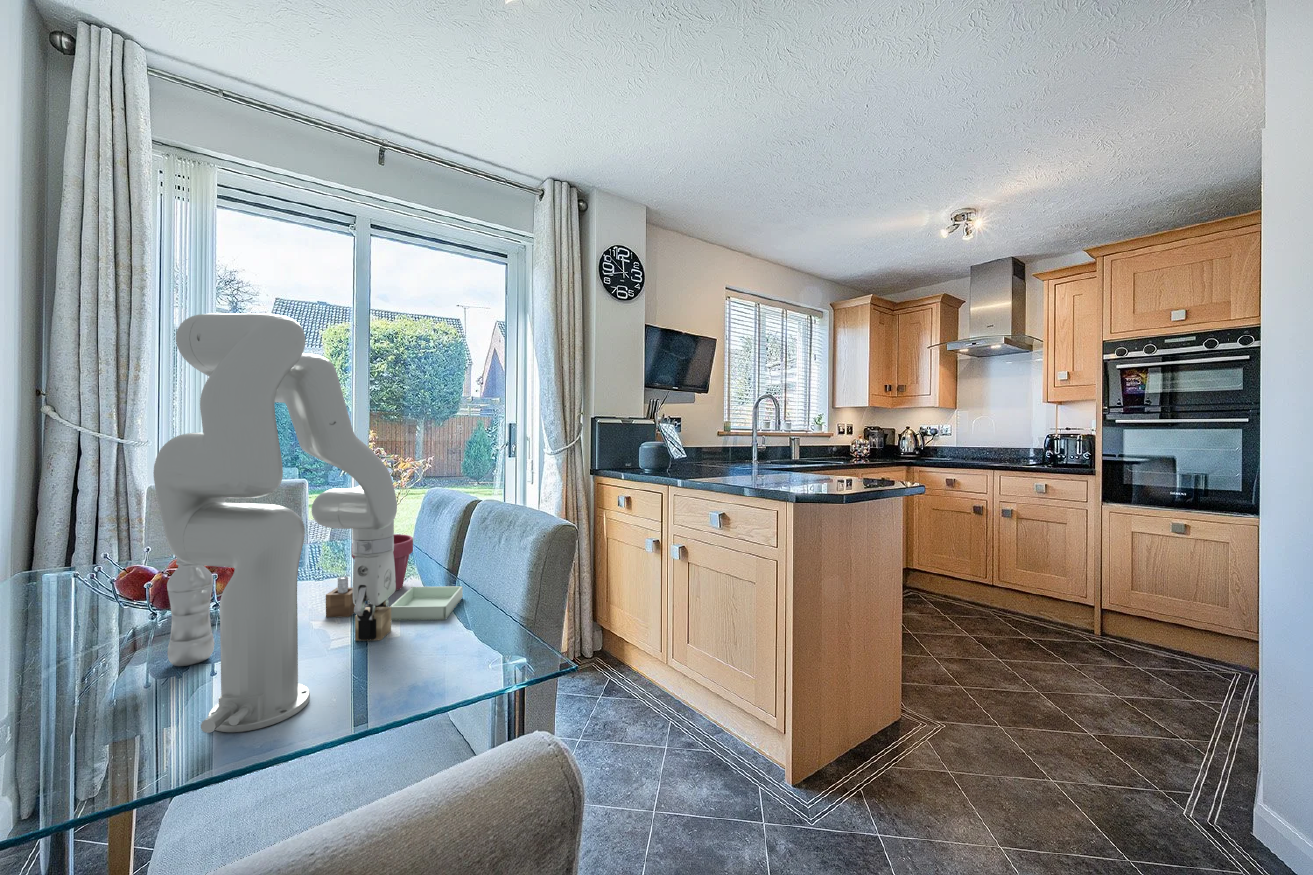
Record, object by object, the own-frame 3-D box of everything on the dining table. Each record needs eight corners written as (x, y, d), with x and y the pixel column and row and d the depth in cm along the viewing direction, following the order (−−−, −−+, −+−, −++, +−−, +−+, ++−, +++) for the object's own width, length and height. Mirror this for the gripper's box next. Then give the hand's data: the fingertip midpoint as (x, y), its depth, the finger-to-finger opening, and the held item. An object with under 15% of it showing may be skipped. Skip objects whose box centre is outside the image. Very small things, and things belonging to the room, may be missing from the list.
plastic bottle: (158, 672, 95) (156, 558, 94) (181, 655, 101) (179, 548, 100) (202, 668, 96) (201, 556, 96) (222, 652, 103) (220, 547, 102)
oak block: (381, 640, 110) (381, 615, 110) (355, 640, 109) (355, 615, 109) (391, 630, 115) (391, 606, 115) (366, 630, 114) (366, 607, 114)
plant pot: (363, 581, 147) (363, 533, 146) (418, 579, 149) (418, 532, 149) (342, 599, 133) (342, 547, 132) (404, 596, 135) (404, 545, 135)
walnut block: (349, 616, 122) (349, 594, 121) (325, 616, 121) (325, 594, 121) (359, 608, 127) (359, 587, 126) (337, 608, 126) (336, 587, 126)
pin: (345, 614, 123) (344, 579, 123) (336, 614, 123) (335, 579, 123) (349, 611, 125) (349, 576, 125) (340, 611, 125) (340, 576, 125)
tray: (445, 619, 121) (445, 606, 121) (389, 620, 120) (389, 606, 120) (462, 598, 135) (462, 586, 135) (412, 598, 134) (412, 586, 134)
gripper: (374, 556, 103) (374, 650, 104) (407, 535, 120) (407, 617, 121) (332, 556, 102) (333, 651, 103) (372, 535, 119) (372, 617, 120)
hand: (373, 632), depth 112 cm, fingers closed on oak block, 5 cm apart
